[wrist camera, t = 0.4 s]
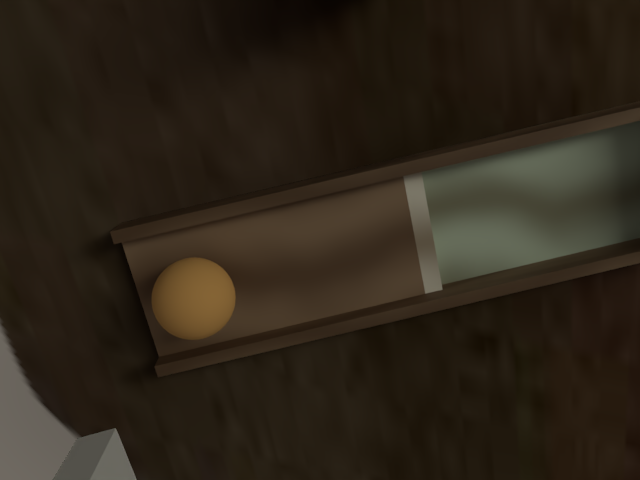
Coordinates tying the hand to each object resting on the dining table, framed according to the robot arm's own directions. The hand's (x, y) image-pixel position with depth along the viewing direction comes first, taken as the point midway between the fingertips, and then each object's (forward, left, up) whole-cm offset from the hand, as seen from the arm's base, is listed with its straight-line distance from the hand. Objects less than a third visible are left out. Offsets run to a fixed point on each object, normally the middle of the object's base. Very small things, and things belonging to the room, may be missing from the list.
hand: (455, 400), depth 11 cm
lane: (+4, +4, -27) cm, 27 cm away
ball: (+4, -10, -23) cm, 25 cm away
